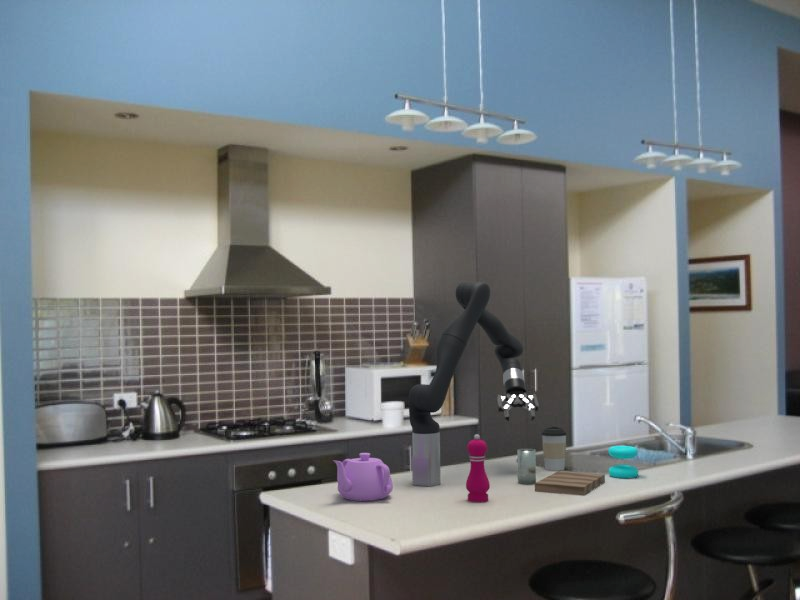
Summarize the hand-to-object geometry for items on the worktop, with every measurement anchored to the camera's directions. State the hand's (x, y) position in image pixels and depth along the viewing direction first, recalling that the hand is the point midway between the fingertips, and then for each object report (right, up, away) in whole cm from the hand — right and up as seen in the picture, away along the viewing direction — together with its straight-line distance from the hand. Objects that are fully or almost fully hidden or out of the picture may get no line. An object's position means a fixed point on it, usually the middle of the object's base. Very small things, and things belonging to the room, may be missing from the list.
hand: (520, 419), depth 300 cm
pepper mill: (-18, -19, -38) cm, 47 cm away
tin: (+1, -20, -12) cm, 23 cm away
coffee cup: (+14, -20, +13) cm, 28 cm away
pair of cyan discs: (+35, -20, -3) cm, 40 cm away
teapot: (-54, -20, -34) cm, 67 cm away
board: (+14, -19, -19) cm, 30 cm away
